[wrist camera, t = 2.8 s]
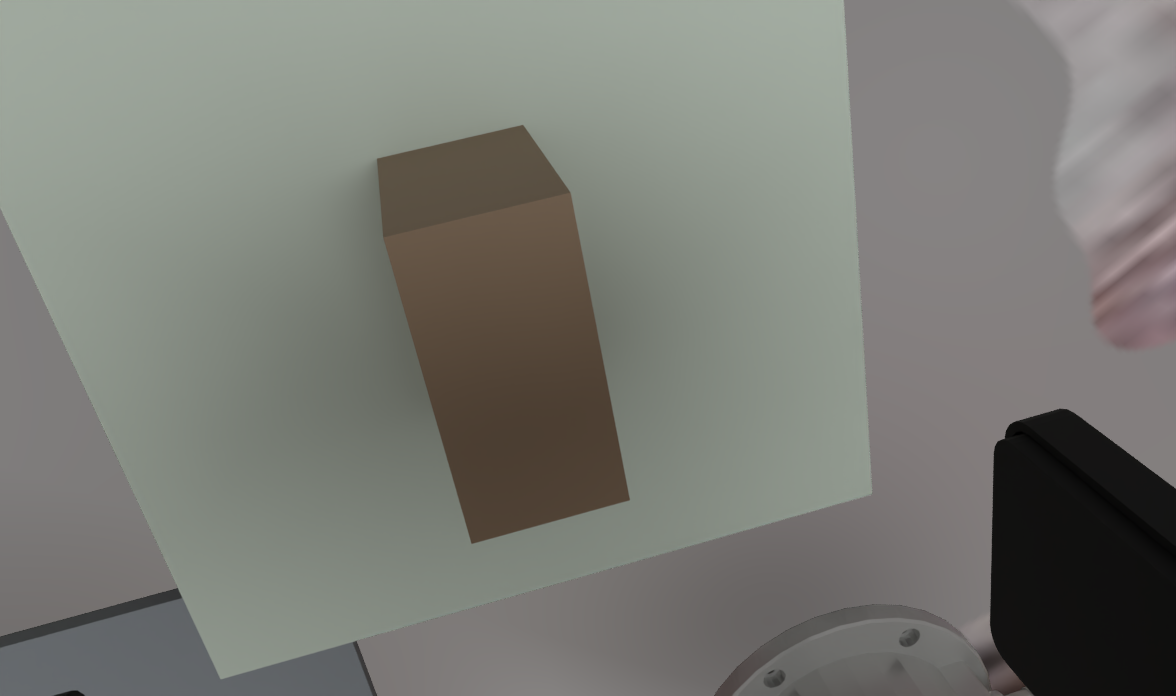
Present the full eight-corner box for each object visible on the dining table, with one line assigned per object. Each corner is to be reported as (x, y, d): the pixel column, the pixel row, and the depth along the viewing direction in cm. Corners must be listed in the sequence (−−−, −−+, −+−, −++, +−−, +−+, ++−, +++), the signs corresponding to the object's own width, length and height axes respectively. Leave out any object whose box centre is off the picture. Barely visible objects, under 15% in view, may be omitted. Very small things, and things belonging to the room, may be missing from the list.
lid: (807, -245, 19) (979, -292, 14) (855, 474, 27) (978, 619, 22) (-103, -67, 17) (-304, -46, 12) (225, 651, 25) (190, 858, 20)
